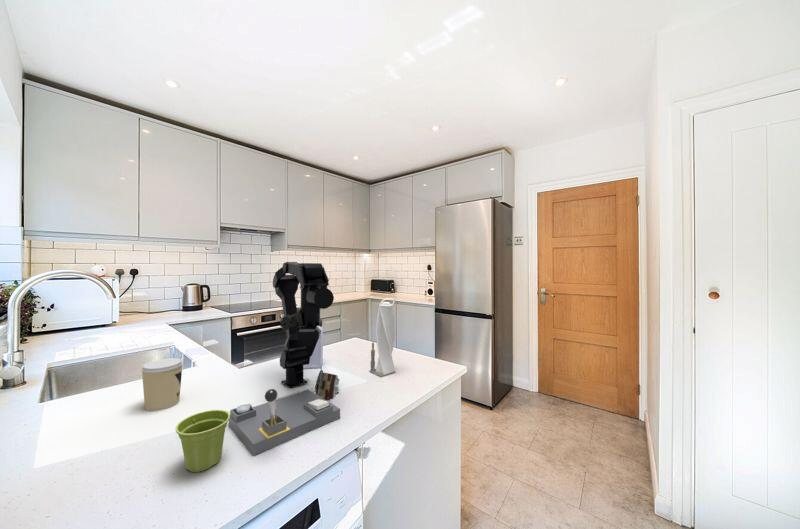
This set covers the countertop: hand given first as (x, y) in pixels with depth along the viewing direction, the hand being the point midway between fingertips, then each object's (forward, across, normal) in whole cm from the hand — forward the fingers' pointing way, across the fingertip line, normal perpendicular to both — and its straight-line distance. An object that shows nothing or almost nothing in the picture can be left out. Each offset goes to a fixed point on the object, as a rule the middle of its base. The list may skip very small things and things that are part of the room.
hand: (310, 355), depth 90 cm
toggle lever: (+10, +20, -6) cm, 23 cm away
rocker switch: (+9, +13, +3) cm, 16 cm away
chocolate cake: (+14, -3, +5) cm, 15 cm away
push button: (+10, +12, -15) cm, 22 cm away
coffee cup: (+13, -4, -41) cm, 43 cm away
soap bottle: (+13, -29, -2) cm, 32 cm away
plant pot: (+13, +26, -19) cm, 35 cm away
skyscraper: (+13, -17, +26) cm, 34 cm away
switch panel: (+13, +12, -5) cm, 19 cm away
